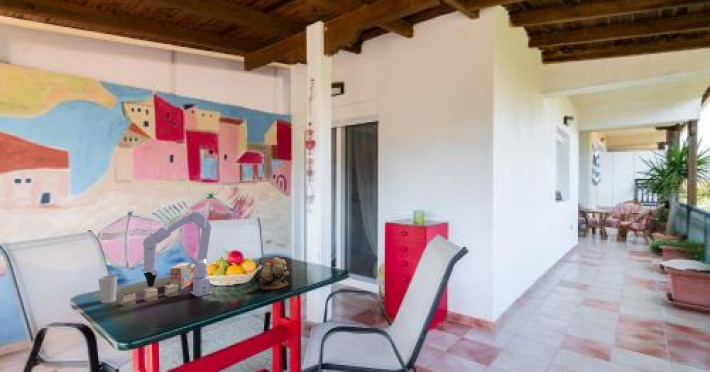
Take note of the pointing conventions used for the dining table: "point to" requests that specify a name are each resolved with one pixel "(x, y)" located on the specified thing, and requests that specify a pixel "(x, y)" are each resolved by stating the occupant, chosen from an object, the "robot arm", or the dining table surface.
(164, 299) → the dining table surface
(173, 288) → the dotted block
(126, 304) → the dotted block
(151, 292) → the plain block
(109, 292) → the cup
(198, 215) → the robot arm
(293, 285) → the dining table surface
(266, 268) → the brown lumpy figurine
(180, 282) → the stack of blocks
